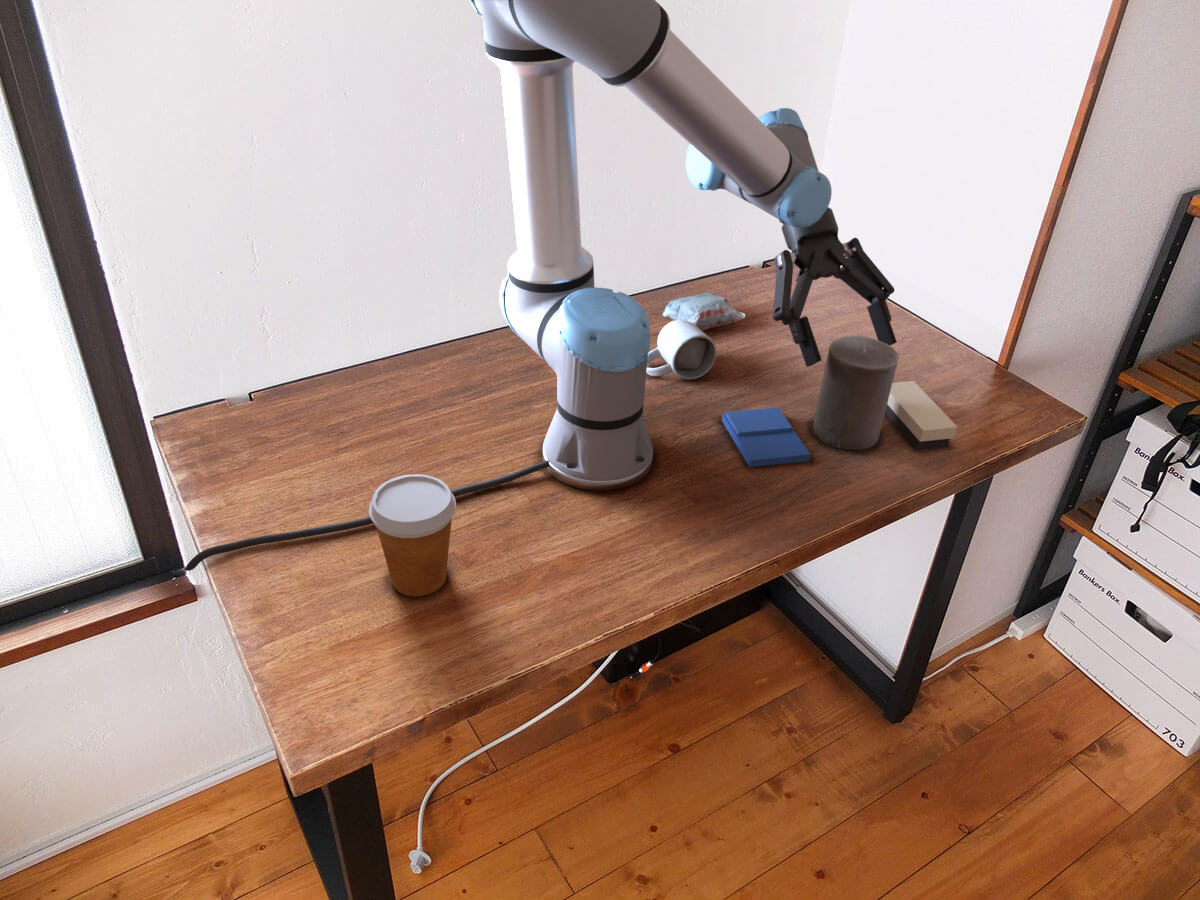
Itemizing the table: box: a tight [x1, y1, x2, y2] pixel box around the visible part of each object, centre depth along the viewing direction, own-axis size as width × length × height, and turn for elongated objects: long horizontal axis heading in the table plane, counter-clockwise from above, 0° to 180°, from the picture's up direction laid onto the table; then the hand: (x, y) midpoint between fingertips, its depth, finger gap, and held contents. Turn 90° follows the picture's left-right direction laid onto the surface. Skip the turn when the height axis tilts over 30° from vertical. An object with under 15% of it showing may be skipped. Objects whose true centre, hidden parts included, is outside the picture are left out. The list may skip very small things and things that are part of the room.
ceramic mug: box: [646, 319, 717, 380], centre depth 152 cm, size 11×8×8 cm
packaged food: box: [662, 291, 746, 331], centre depth 166 cm, size 9×12×5 cm
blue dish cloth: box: [721, 406, 812, 468], centre depth 138 cm, size 9×12×2 cm
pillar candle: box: [812, 335, 900, 451], centre depth 137 cm, size 10×10×15 cm
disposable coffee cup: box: [368, 473, 457, 597], centre depth 108 cm, size 10×10×12 cm
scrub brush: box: [885, 380, 958, 451], centre depth 142 cm, size 6×13×4 cm, turn 13°
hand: (852, 354), depth 135 cm, fingers open, 13 cm apart
